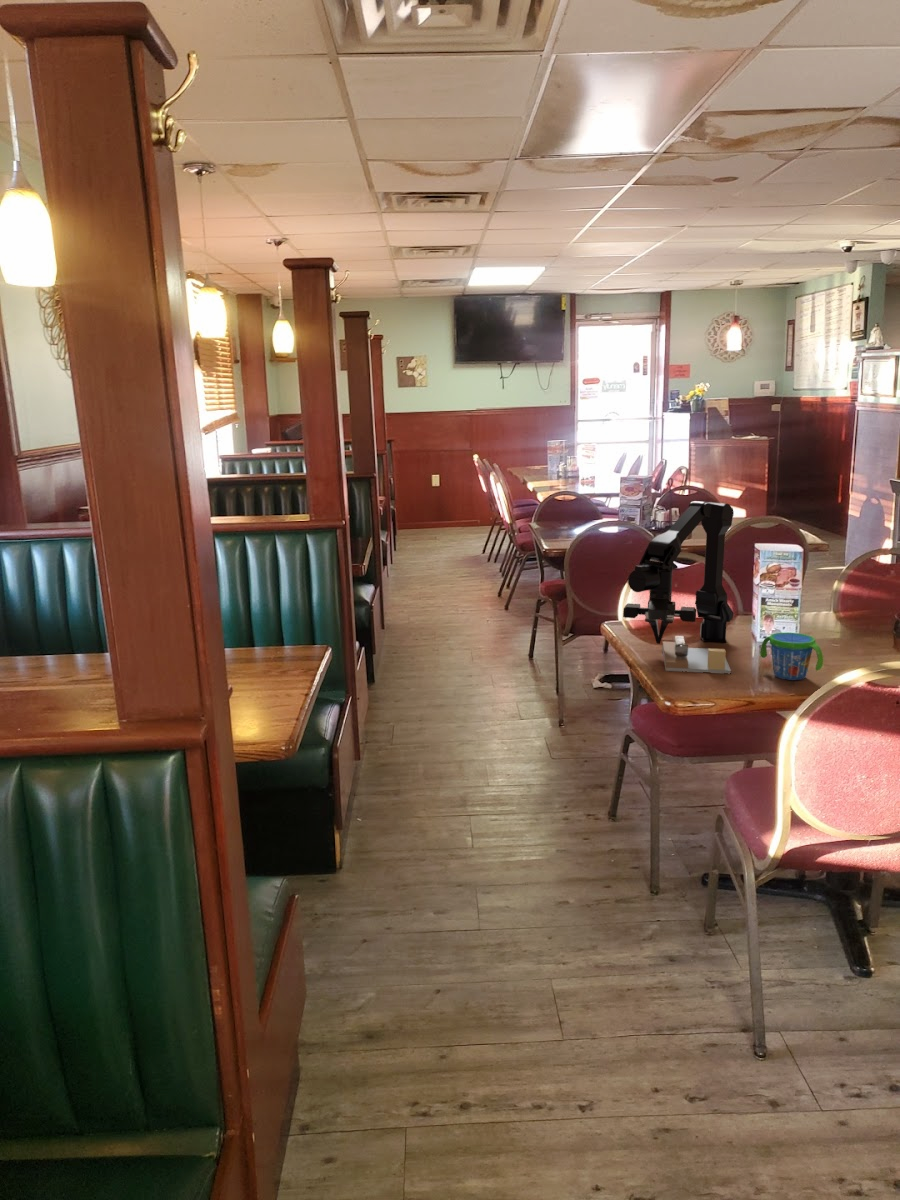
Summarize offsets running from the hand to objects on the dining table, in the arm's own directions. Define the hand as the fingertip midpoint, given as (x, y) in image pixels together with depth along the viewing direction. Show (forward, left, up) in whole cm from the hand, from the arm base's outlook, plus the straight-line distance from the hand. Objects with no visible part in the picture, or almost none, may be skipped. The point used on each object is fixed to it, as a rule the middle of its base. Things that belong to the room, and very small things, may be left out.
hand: (658, 643), depth 229 cm
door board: (-9, +3, -4) cm, 11 cm away
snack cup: (-31, +13, -4) cm, 34 cm away
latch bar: (-6, +4, 0) cm, 7 cm away
